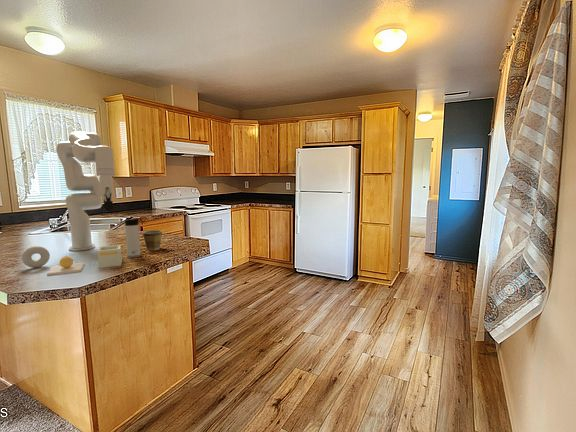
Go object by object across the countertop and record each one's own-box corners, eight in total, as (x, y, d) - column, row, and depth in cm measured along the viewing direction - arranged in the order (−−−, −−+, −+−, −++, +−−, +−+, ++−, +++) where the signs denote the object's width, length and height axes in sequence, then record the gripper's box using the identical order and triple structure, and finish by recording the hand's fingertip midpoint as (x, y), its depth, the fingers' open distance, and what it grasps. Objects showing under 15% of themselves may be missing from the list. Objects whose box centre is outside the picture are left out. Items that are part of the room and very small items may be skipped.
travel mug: (135, 258, 157) (133, 219, 154) (124, 257, 158) (121, 219, 156) (143, 255, 163) (141, 217, 160) (132, 254, 165) (130, 217, 162)
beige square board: (53, 267, 141) (53, 265, 141) (84, 264, 146) (84, 262, 146) (47, 275, 131) (46, 273, 130) (80, 271, 136) (80, 269, 136)
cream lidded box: (100, 263, 149) (99, 246, 148) (121, 260, 153) (120, 244, 152) (98, 268, 141) (97, 251, 139) (121, 265, 144) (119, 249, 143)
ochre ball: (61, 266, 139) (60, 256, 139) (74, 265, 142) (73, 254, 141) (58, 269, 135) (57, 258, 134) (72, 268, 137) (71, 257, 136)
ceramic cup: (166, 248, 178) (165, 231, 177) (151, 252, 170) (149, 234, 168) (152, 245, 185) (152, 229, 183) (137, 248, 176) (136, 231, 175)
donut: (23, 270, 137) (20, 248, 136) (22, 268, 140) (20, 247, 138) (51, 266, 144) (49, 245, 142) (50, 264, 146) (48, 243, 145)
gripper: (96, 173, 150) (99, 208, 153) (96, 172, 136) (100, 211, 138) (113, 173, 154) (116, 207, 157) (116, 172, 140) (119, 210, 142)
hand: (108, 209), depth 147 cm, fingers open, 9 cm apart
